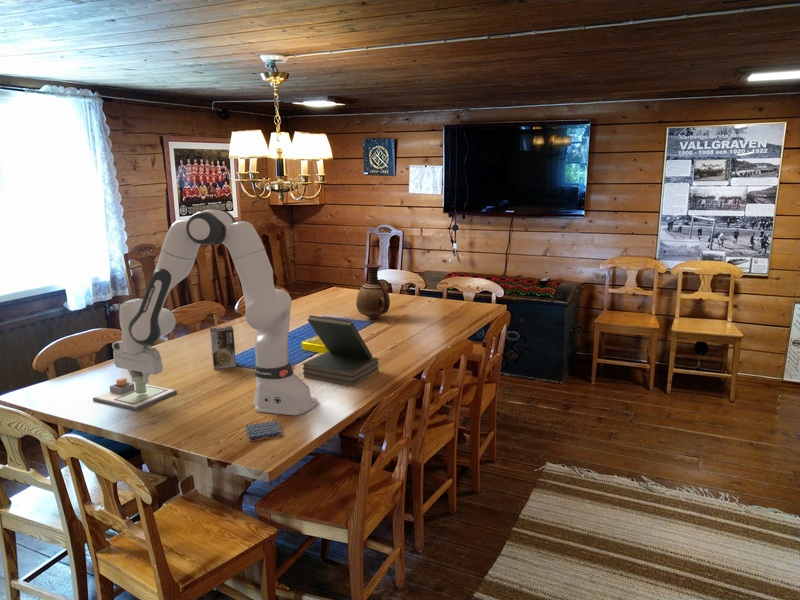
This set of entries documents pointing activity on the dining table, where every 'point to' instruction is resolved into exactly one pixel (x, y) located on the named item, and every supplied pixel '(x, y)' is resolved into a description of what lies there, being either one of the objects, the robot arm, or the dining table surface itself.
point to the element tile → (314, 345)
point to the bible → (340, 353)
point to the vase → (373, 295)
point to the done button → (121, 382)
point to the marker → (139, 382)
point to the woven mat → (263, 430)
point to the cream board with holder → (133, 396)
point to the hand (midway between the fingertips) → (140, 382)
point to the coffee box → (223, 347)
